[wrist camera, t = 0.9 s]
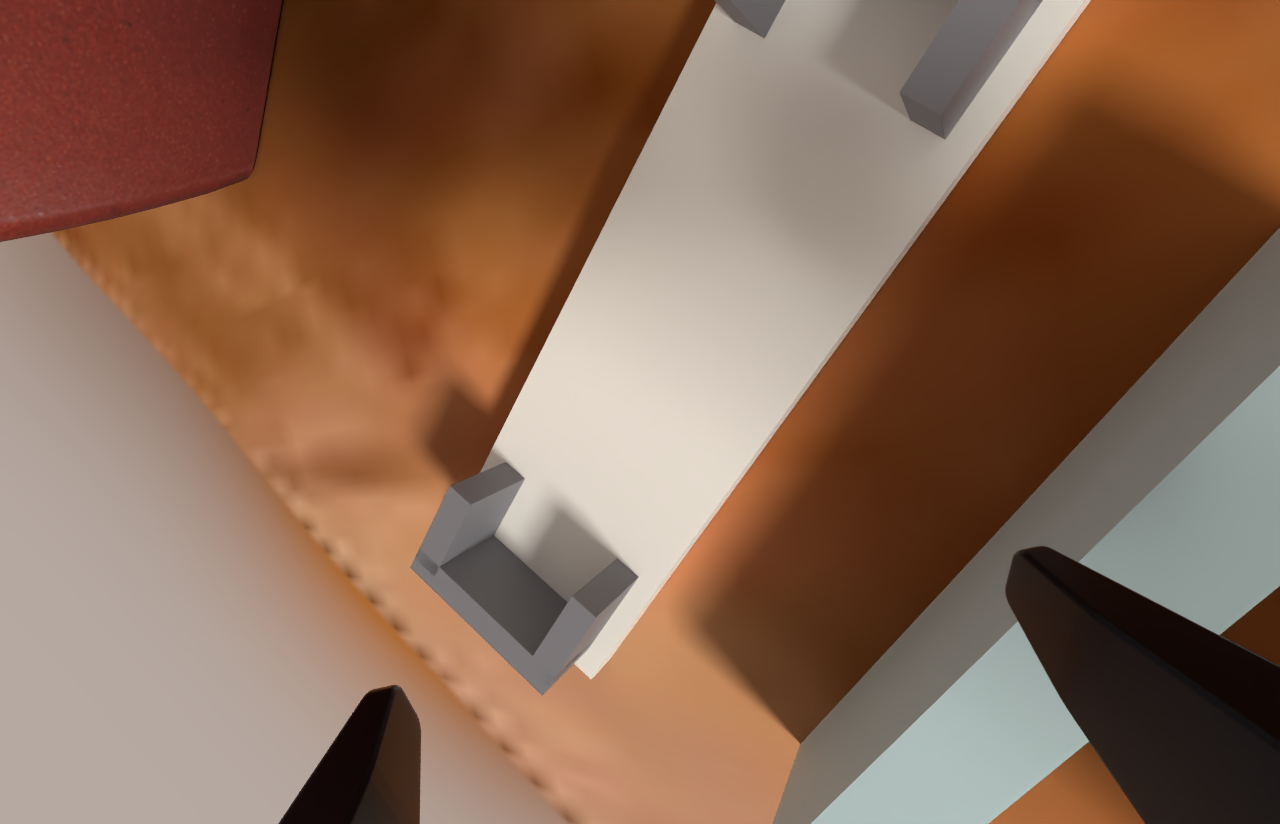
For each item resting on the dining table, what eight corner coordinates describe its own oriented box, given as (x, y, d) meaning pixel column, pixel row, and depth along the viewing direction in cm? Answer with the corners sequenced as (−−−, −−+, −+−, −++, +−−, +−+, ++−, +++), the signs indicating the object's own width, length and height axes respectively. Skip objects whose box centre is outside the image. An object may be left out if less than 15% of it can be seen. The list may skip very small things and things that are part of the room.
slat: (1395, 281, 14) (1640, 291, 9) (862, 791, 22) (830, 951, 17) (1278, 225, 15) (1445, 204, 10) (801, 740, 23) (753, 879, 18)
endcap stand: (1118, -38, 15) (1171, -145, 11) (610, 658, 26) (546, 729, 22) (831, -167, 17) (790, -297, 13) (469, 529, 28) (387, 572, 24)
